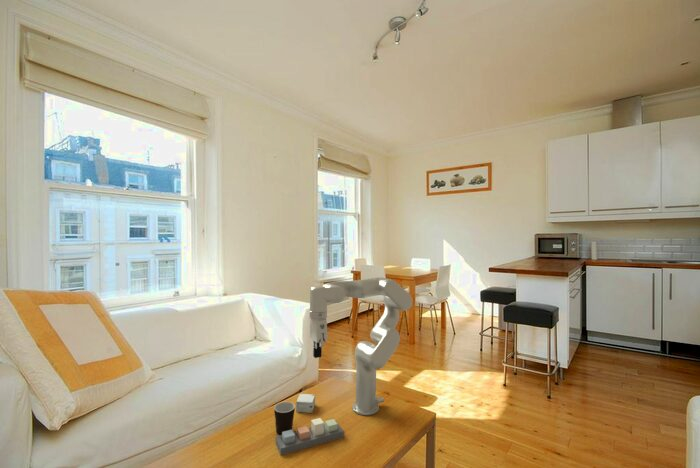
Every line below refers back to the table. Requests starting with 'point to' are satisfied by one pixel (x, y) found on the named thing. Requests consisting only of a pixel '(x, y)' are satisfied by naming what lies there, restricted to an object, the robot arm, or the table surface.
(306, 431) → the key terracotta
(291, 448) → the keypad
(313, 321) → the robot arm
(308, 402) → the small box
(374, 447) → the table surface
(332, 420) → the key sage
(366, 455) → the table surface
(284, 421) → the coffee mug
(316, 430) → the key cream
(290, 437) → the key slate
